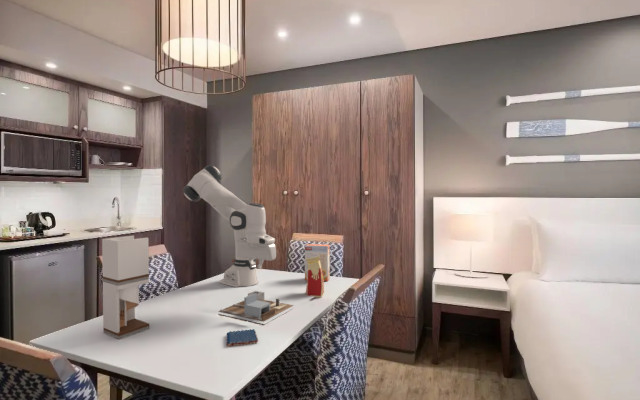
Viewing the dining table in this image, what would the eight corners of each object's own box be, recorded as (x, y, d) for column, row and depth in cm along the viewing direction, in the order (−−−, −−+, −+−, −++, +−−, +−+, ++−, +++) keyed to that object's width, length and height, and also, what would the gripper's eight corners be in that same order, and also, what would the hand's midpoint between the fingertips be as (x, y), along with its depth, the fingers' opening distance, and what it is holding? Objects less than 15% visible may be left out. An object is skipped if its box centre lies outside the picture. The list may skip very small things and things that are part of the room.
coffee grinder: (118, 339, 124) (117, 241, 123) (103, 332, 129) (102, 238, 128) (149, 328, 133) (148, 237, 132) (133, 323, 139) (132, 235, 138)
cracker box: (329, 279, 209) (330, 244, 209) (327, 281, 203) (327, 245, 203) (307, 277, 212) (307, 243, 212) (304, 280, 207) (304, 244, 206)
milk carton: (324, 292, 182) (324, 254, 182) (322, 297, 173) (322, 257, 172) (306, 291, 183) (306, 253, 182) (304, 297, 174) (304, 257, 173)
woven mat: (258, 345, 121) (258, 339, 121) (226, 348, 118) (226, 342, 118) (255, 333, 131) (255, 327, 131) (226, 336, 128) (226, 330, 128)
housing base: (218, 314, 149) (218, 304, 148) (251, 300, 168) (251, 291, 168) (263, 325, 137) (263, 313, 137) (293, 308, 157) (293, 298, 157)
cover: (244, 314, 144) (244, 297, 144) (255, 309, 150) (255, 293, 150) (259, 318, 140) (259, 300, 140) (270, 312, 146) (270, 295, 146)
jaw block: (247, 302, 160) (247, 293, 160) (255, 299, 165) (255, 290, 165) (257, 304, 158) (257, 295, 158) (264, 300, 163) (264, 292, 163)
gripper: (234, 237, 163) (234, 267, 163) (269, 240, 153) (269, 272, 154) (243, 236, 168) (243, 264, 169) (278, 239, 159) (278, 269, 159)
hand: (256, 268), depth 161 cm, fingers open, 2 cm apart
